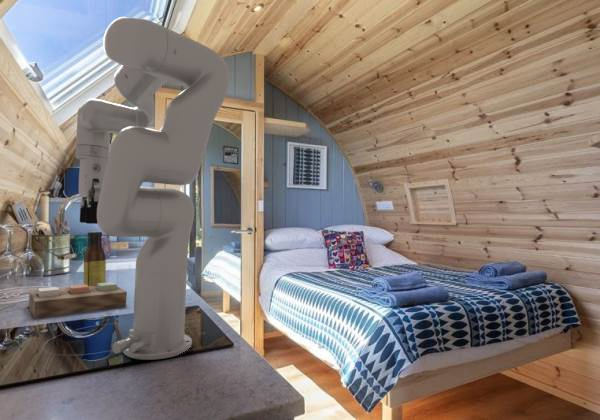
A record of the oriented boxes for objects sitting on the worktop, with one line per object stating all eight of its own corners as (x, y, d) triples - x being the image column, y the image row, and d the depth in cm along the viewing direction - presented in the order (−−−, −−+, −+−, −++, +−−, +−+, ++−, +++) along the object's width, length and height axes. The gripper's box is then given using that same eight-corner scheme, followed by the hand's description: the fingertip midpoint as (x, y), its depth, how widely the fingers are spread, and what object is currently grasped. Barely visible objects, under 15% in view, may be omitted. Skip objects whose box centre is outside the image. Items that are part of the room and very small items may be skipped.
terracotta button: (85, 294, 103) (86, 284, 103) (88, 297, 100) (89, 286, 100) (68, 296, 100) (68, 285, 100) (71, 299, 97) (71, 288, 97)
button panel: (112, 296, 112) (113, 283, 112) (126, 306, 102) (126, 291, 102) (28, 306, 98) (29, 291, 98) (34, 318, 88) (35, 301, 88)
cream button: (56, 297, 98) (56, 286, 98) (58, 300, 95) (59, 289, 95) (37, 299, 96) (38, 288, 96) (39, 302, 93) (40, 291, 93)
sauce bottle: (109, 291, 120) (112, 231, 120) (97, 295, 113) (99, 232, 114) (91, 290, 120) (93, 230, 121) (77, 294, 114) (80, 231, 114)
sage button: (112, 292, 108) (112, 282, 108) (116, 294, 105) (116, 284, 105) (96, 293, 105) (97, 283, 105) (100, 296, 102) (100, 285, 102)
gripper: (117, 153, 91) (114, 224, 90) (100, 159, 104) (97, 222, 103) (83, 148, 86) (79, 224, 85) (69, 156, 99) (66, 221, 98)
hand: (89, 222), depth 94 cm, fingers open, 6 cm apart
